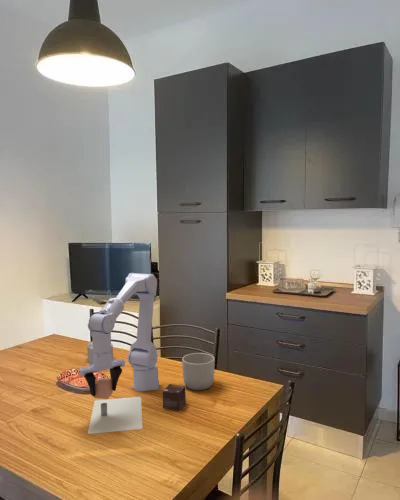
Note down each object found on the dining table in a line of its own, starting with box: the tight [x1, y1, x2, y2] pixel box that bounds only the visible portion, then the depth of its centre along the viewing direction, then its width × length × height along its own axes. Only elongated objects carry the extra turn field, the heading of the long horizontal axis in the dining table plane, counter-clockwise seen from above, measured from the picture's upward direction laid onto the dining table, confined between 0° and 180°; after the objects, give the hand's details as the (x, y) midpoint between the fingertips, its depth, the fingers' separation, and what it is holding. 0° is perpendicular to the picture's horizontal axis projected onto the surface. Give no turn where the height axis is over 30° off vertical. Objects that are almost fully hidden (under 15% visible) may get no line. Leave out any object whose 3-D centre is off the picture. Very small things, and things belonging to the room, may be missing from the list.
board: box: [87, 396, 143, 435], centre depth 131 cm, size 16×22×5 cm
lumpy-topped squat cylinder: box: [86, 340, 114, 365], centre depth 184 cm, size 10×13×9 cm
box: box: [162, 383, 187, 412], centre depth 135 cm, size 6×6×7 cm
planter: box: [181, 352, 216, 391], centre depth 154 cm, size 12×12×11 cm
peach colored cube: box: [93, 377, 114, 400], centre depth 129 cm, size 4×4×5 cm
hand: (103, 392), depth 129 cm, fingers closed on peach colored cube, 6 cm apart
